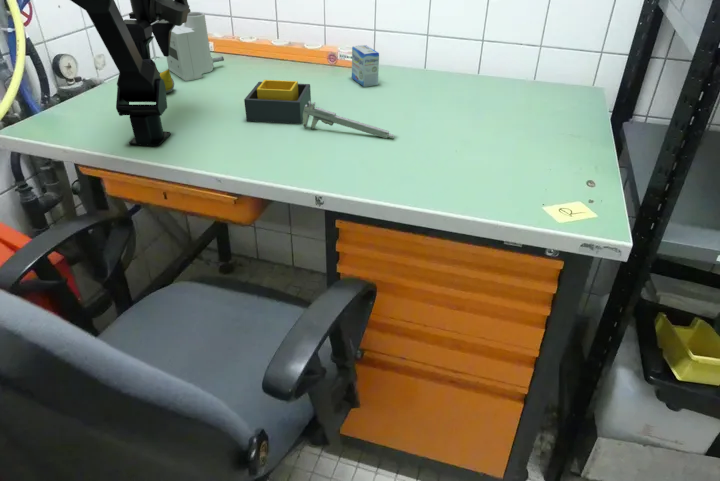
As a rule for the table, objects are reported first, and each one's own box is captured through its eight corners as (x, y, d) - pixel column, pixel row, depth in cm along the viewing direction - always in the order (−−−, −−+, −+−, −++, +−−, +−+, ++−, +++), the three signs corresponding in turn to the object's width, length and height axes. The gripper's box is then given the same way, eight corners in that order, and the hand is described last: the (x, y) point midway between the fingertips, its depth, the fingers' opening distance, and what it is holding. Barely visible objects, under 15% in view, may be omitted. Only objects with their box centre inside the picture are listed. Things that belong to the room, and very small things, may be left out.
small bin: (293, 116, 122) (291, 90, 118) (259, 114, 122) (256, 89, 119) (299, 105, 127) (297, 81, 123) (266, 104, 127) (264, 79, 124)
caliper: (303, 128, 117) (301, 101, 114) (305, 126, 118) (303, 99, 115) (393, 139, 113) (394, 111, 109) (394, 137, 114) (395, 109, 110)
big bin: (301, 124, 119) (299, 102, 116) (246, 121, 120) (244, 99, 118) (311, 104, 129) (310, 84, 126) (260, 102, 130) (258, 81, 127)
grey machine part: (168, 69, 150) (157, 13, 142) (214, 61, 157) (207, 7, 149) (185, 81, 142) (174, 22, 134) (233, 71, 149) (226, 15, 141)
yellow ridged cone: (174, 88, 139) (183, 68, 131) (164, 102, 137) (173, 83, 129) (155, 76, 137) (163, 55, 129) (145, 90, 135) (153, 70, 127)
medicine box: (351, 78, 145) (351, 46, 140) (365, 76, 147) (366, 44, 142) (363, 87, 139) (364, 54, 134) (378, 85, 141) (379, 52, 136)
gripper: (160, -5, 99) (176, 77, 108) (196, -22, 114) (208, 51, 123) (103, -7, 100) (124, 75, 109) (147, -24, 115) (162, 50, 124)
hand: (157, 62), depth 117 cm, fingers open, 9 cm apart
